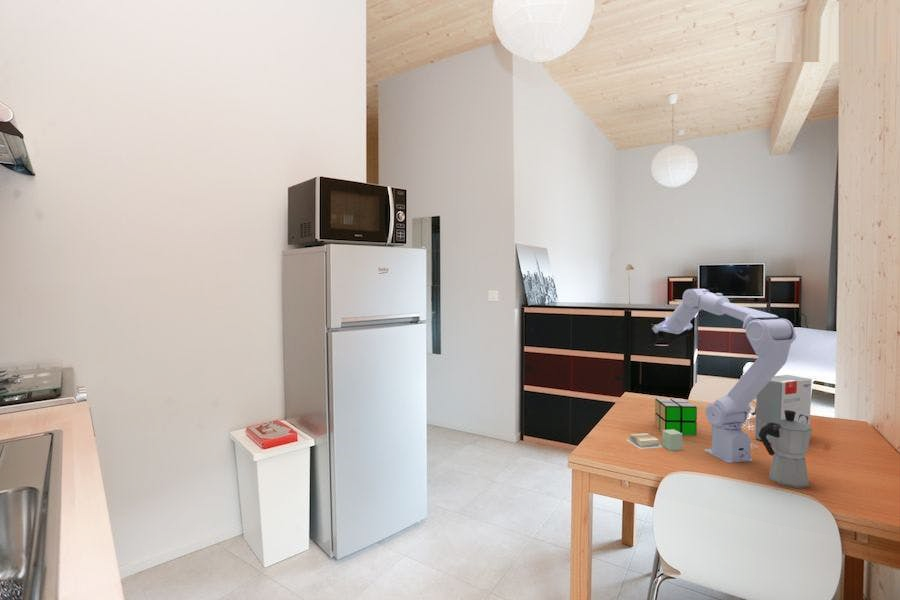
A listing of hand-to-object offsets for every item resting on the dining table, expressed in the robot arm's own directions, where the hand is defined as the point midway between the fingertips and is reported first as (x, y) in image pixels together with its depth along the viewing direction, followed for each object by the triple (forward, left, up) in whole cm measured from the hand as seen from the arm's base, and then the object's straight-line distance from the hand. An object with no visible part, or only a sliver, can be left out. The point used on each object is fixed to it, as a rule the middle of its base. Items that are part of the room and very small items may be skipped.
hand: (660, 342), depth 155 cm
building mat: (-15, +13, -30) cm, 36 cm away
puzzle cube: (-5, -2, -30) cm, 31 cm away
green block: (-20, +10, -29) cm, 37 cm away
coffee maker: (-44, -4, -30) cm, 54 cm away
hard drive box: (-19, -30, -30) cm, 47 cm away
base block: (-15, +16, -29) cm, 36 cm away
